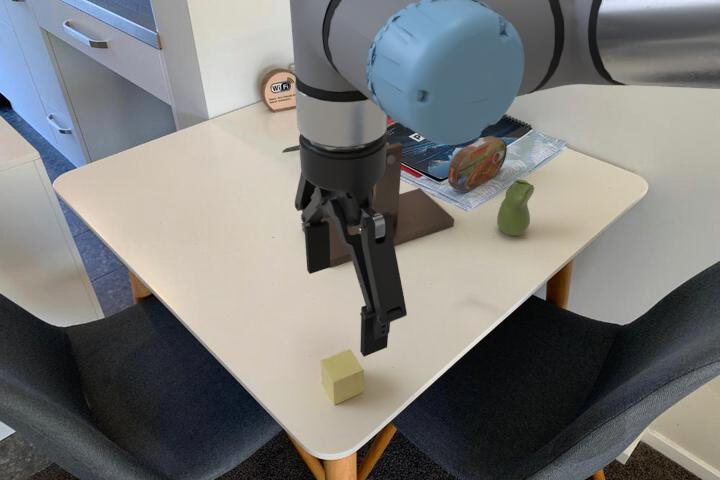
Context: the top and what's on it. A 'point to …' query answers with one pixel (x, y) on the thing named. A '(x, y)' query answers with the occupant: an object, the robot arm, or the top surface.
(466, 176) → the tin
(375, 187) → the lever base
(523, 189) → the pear
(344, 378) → the butter
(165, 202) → the top surface
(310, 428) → the top surface
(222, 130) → the top surface
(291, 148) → the kitchen knife
